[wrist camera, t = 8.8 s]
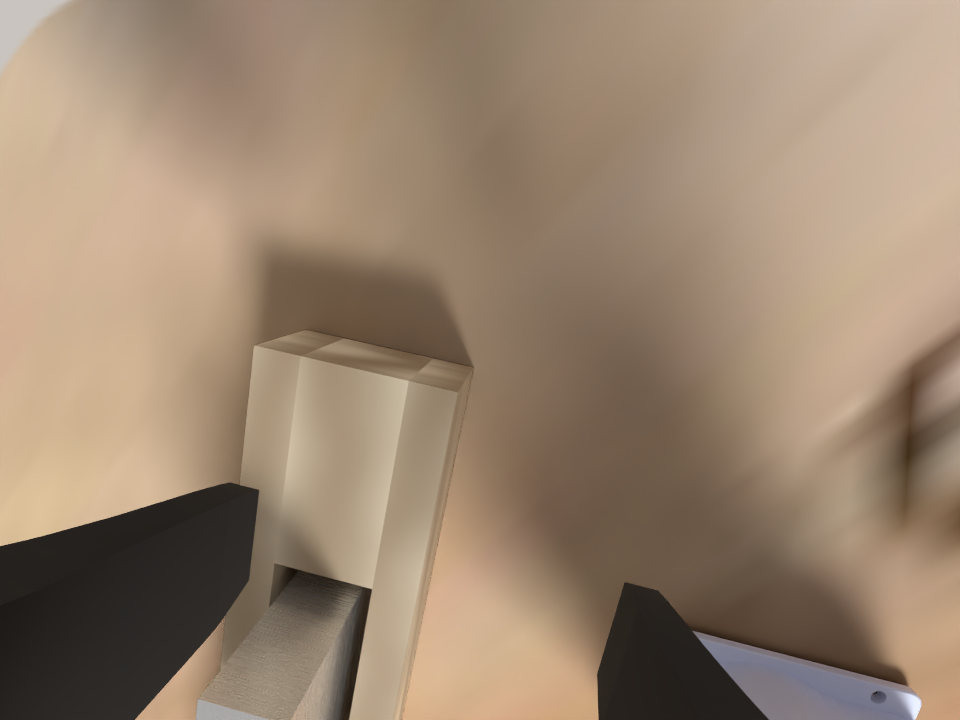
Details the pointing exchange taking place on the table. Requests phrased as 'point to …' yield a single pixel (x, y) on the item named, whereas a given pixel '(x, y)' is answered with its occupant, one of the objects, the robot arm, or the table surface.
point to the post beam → (350, 489)
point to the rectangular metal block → (295, 656)
